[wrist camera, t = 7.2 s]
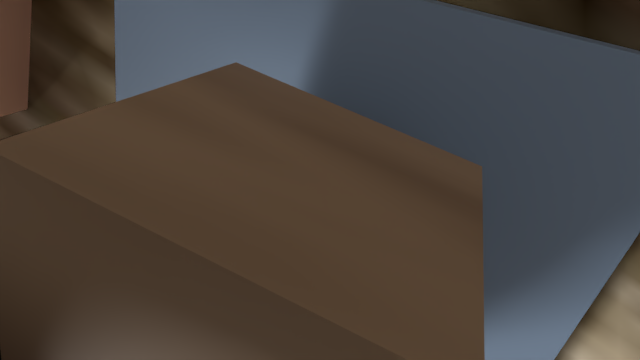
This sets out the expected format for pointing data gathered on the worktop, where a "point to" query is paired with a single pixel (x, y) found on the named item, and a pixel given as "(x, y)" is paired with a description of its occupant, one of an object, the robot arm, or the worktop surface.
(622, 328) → the worktop surface
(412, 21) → the base plate
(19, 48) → the terracotta block
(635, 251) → the worktop surface
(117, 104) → the walnut block
